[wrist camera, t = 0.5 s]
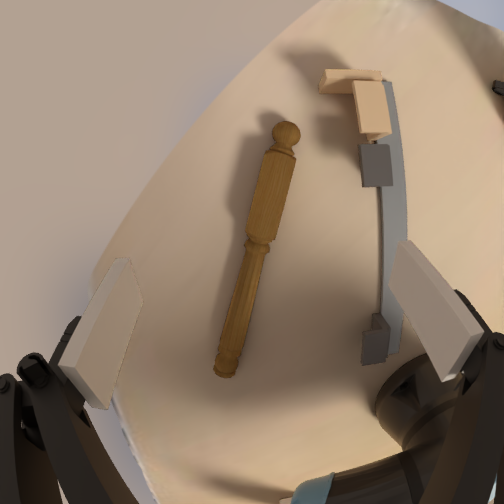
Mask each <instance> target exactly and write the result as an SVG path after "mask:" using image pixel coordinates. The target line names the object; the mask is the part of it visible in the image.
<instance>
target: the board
mask: <svg viewBox="0 0 504 504" xmlns="http://www.w3.org/2000/svg"><path fill="white" fill-rule="evenodd" d="M382 80H383V79H382V75H381V71H372V70H351V69H325V71H324V73H323V76H322V78H321V80H320V83H319V85H318V87H319V93H320V94H354V100H355V106H356V112H357V118H358V125H359V132H360V133H366V137H367V141H375V142H376V144H360V145H358V149H359V158H360V168H361V179H362V187H380V196H381V216H382V287H381V307H380V313H375V314H373V315H372V330H371V331H366V332H363V341H362V353H361V364H362V366H365V365H371V364H377V363H383V362H385V361H386V358H387V356H388V354H394V353H398V352H399V346H400V339H401V331H402V322H403V313H404V311H403V309H402V308H401V306H400V304H399V303H398V301H397V299H396V298H395V296H394V294H393V293H392V291H391V290H390V288H389V286H388V284H389V280H390V276H391V272H392V267H393V263H394V259H395V254H396V250H397V245H398V241H407V201H406V183H405V170H404V160H403V150H402V142H401V134H400V127H399V121H398V114H397V109H396V103H395V98H394V93H393V88H392V83H391V82H384V81H382Z"/></svg>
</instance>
